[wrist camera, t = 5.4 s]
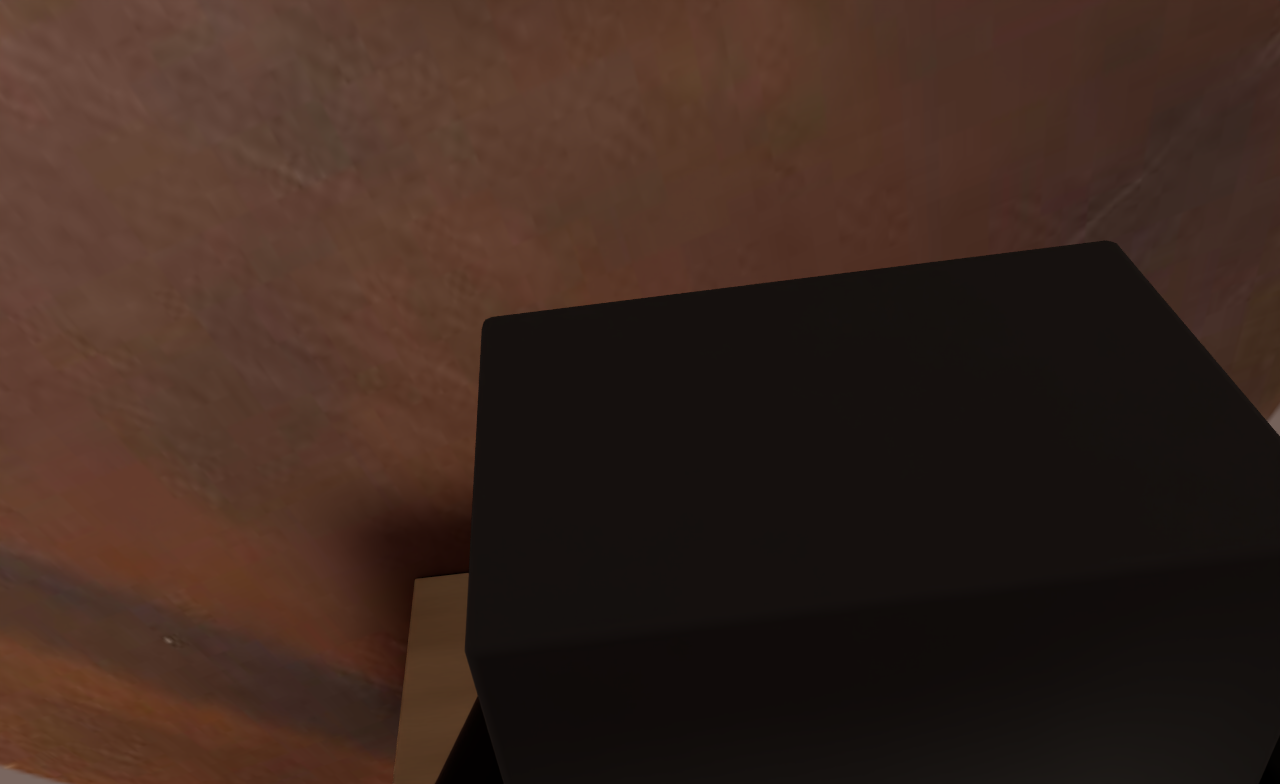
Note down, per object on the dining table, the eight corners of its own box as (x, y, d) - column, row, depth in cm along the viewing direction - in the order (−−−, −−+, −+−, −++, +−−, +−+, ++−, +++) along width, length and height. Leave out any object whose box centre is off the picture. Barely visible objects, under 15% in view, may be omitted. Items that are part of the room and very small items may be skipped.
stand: (688, 731, 30) (718, 954, 25) (466, 756, 30) (454, 985, 25) (672, 548, 26) (705, 776, 21) (414, 578, 26) (388, 814, 21)
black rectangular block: (1017, 741, 11) (1147, 1054, 9) (585, 796, 11) (602, 1125, 9) (1116, 234, 8) (1374, 536, 5) (479, 313, 8) (461, 653, 5)
